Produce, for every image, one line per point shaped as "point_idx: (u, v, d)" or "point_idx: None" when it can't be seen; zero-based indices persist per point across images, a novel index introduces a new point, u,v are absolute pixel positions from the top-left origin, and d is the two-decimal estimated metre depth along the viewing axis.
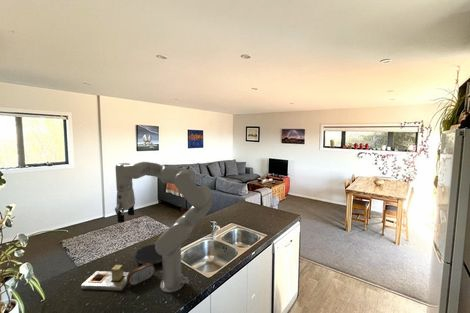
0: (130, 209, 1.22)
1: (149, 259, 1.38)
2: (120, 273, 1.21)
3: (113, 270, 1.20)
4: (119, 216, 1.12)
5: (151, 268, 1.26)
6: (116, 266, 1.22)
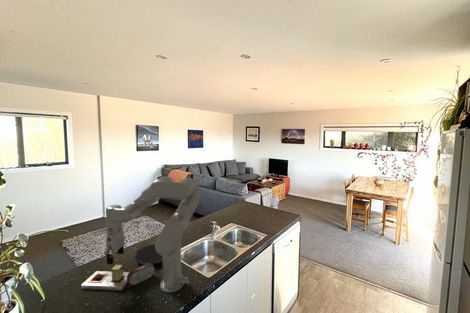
0: (120, 248, 1.25)
1: (149, 259, 1.38)
2: (120, 273, 1.21)
3: (113, 270, 1.20)
4: (108, 258, 1.15)
5: (151, 268, 1.26)
6: (116, 266, 1.22)
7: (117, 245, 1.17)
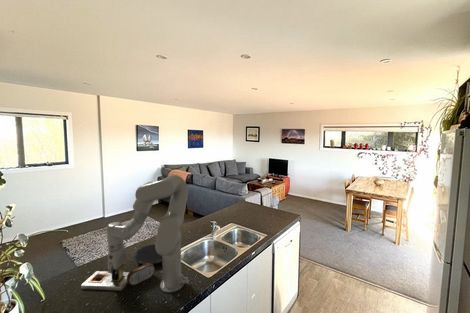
0: None
1: (149, 259, 1.38)
2: (120, 273, 1.21)
3: (113, 270, 1.20)
4: (113, 275, 1.18)
5: (151, 268, 1.26)
6: None
7: (119, 262, 1.18)
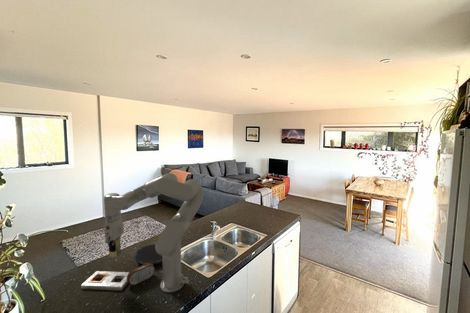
0: None
1: (149, 259, 1.38)
2: (117, 245, 1.19)
3: None
4: (110, 246, 1.17)
5: (151, 268, 1.26)
6: None
7: (116, 233, 1.17)
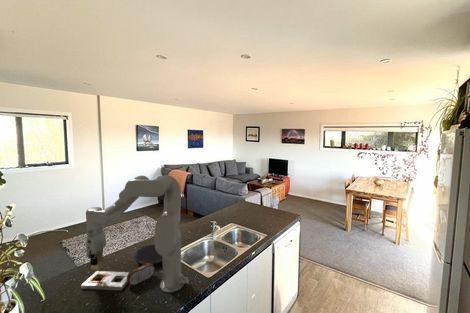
0: None
1: (149, 259, 1.38)
2: (99, 258, 1.21)
3: None
4: (92, 260, 1.18)
5: (151, 268, 1.26)
6: None
7: (97, 247, 1.18)
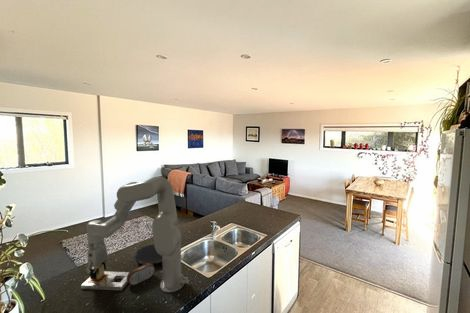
0: None
1: (149, 259, 1.38)
2: (100, 272, 1.22)
3: None
4: (91, 273, 1.17)
5: (151, 268, 1.26)
6: None
7: (99, 260, 1.19)
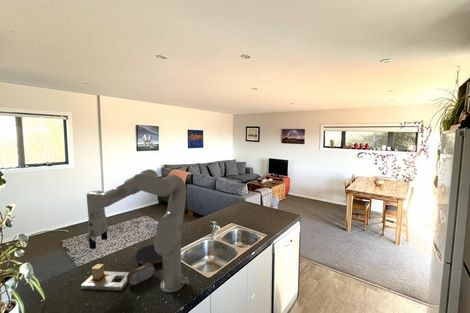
0: (103, 234, 1.26)
1: (149, 259, 1.38)
2: (100, 272, 1.22)
3: (93, 269, 1.20)
4: (90, 243, 1.16)
5: (151, 268, 1.26)
6: (97, 266, 1.22)
7: (99, 230, 1.19)
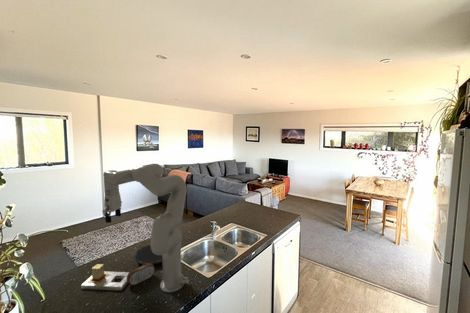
0: (117, 211, 1.38)
1: (149, 259, 1.38)
2: (100, 272, 1.22)
3: (93, 269, 1.20)
4: (106, 217, 1.27)
5: (151, 268, 1.26)
6: (97, 266, 1.22)
7: (114, 206, 1.30)
